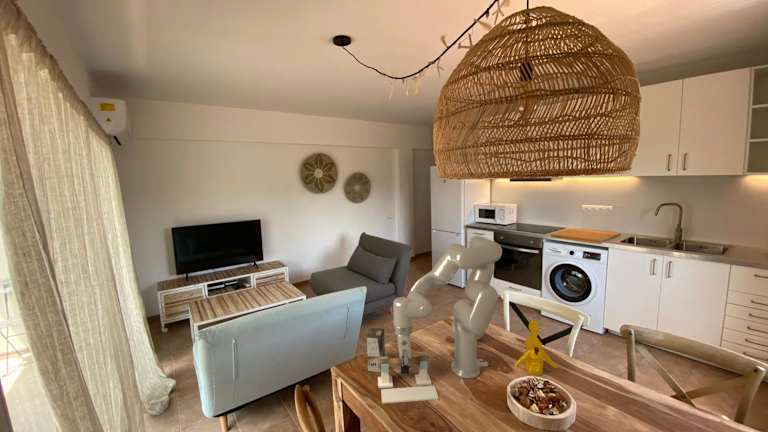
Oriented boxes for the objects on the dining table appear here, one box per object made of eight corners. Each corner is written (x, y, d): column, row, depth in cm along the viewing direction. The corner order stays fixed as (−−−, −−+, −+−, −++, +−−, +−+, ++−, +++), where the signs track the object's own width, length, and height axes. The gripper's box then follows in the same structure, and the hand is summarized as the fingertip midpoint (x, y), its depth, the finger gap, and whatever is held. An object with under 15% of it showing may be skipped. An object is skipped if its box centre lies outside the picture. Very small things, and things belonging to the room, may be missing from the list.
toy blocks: (428, 375, 135) (428, 353, 133) (431, 384, 129) (431, 362, 127) (414, 376, 134) (414, 354, 133) (417, 385, 128) (416, 363, 127)
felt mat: (434, 386, 127) (434, 385, 127) (438, 399, 120) (438, 398, 120) (381, 390, 126) (381, 389, 126) (382, 403, 119) (381, 402, 119)
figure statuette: (515, 376, 132) (517, 327, 129) (510, 364, 140) (511, 318, 137) (559, 377, 131) (562, 328, 127) (551, 365, 138) (554, 319, 135)
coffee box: (381, 372, 137) (380, 338, 135) (367, 371, 139) (366, 337, 136) (385, 360, 146) (384, 328, 144) (372, 358, 147) (371, 327, 145)
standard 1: (391, 377, 134) (391, 356, 132) (392, 387, 128) (392, 365, 126) (377, 378, 133) (377, 357, 132) (378, 388, 127) (377, 366, 126)
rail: (428, 362, 132) (428, 355, 132) (430, 366, 129) (430, 360, 129) (377, 365, 131) (377, 359, 130) (378, 370, 128) (377, 363, 127)
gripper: (415, 338, 119) (416, 380, 122) (409, 317, 136) (409, 354, 139) (395, 340, 119) (396, 381, 121) (391, 318, 136) (392, 355, 138)
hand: (403, 366), depth 130 cm, fingers open, 7 cm apart
